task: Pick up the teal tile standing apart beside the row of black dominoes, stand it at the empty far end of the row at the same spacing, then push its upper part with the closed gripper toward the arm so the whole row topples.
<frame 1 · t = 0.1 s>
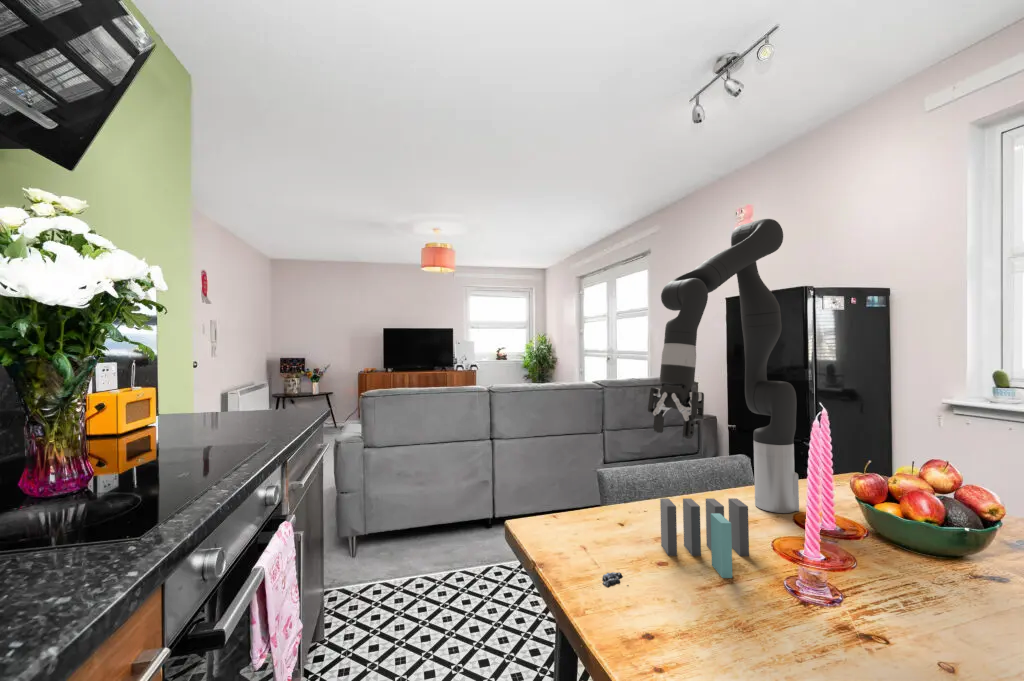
hand: (672, 435, 105), 22 cm above the table, tool pointing down, fingers open, 8 cm apart
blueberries: (613, 584, 84), on the table
domino 2: (668, 550, 96), on the table
domino 4: (715, 550, 96), on the table
domino 5: (739, 550, 96), on the table
end domino: (721, 571, 87), on the table
domino 3: (692, 550, 96), on the table
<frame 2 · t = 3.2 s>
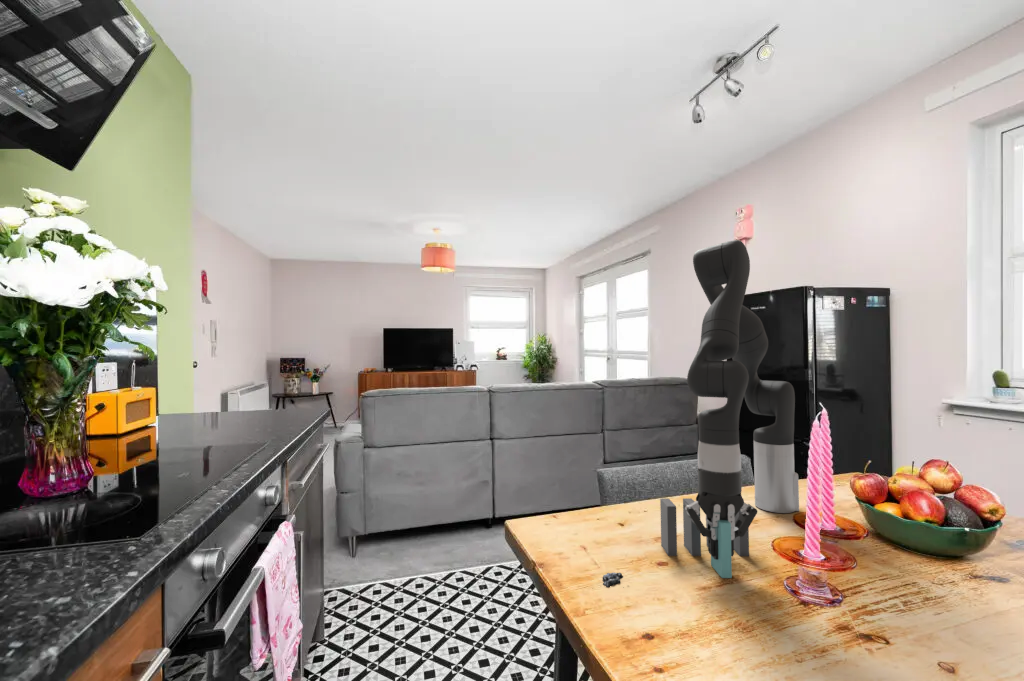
hand: (720, 557, 87), 3 cm above the table, tool pointing down, fingers closed on end domino
end domino: (721, 571, 87), on the table, touching gripper
everything else where it was.
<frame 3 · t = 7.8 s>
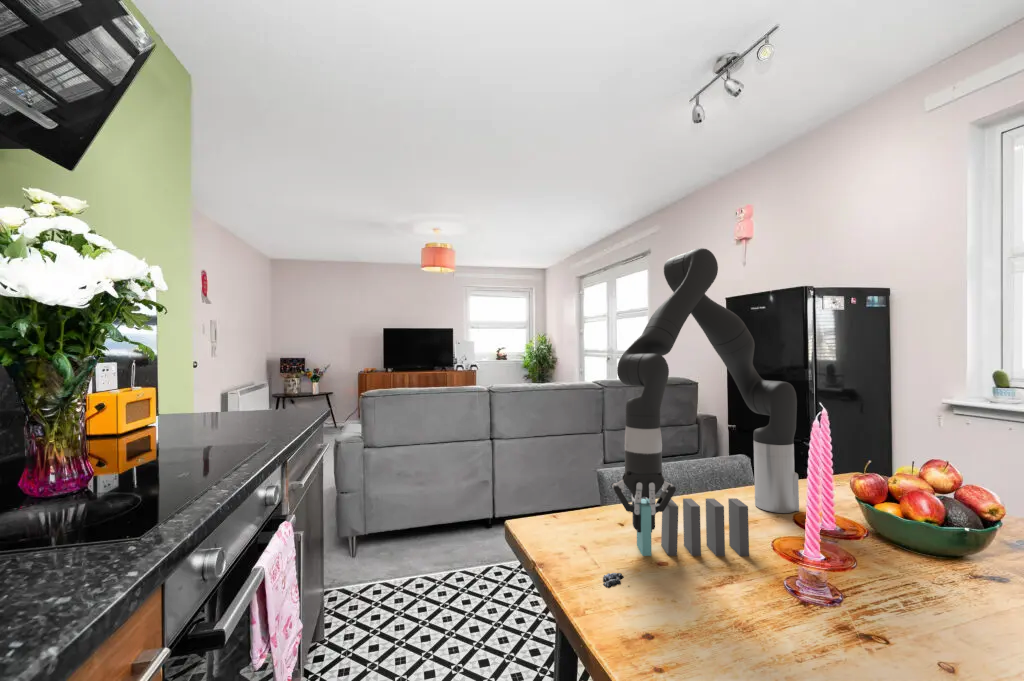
hand: (643, 530, 96), 4 cm above the table, tool pointing down, fingers closed on end domino
domino 2: (668, 550, 96), on the table, touching hand
end domino: (643, 550, 96), on the table, touching gripper
everything else where it was.
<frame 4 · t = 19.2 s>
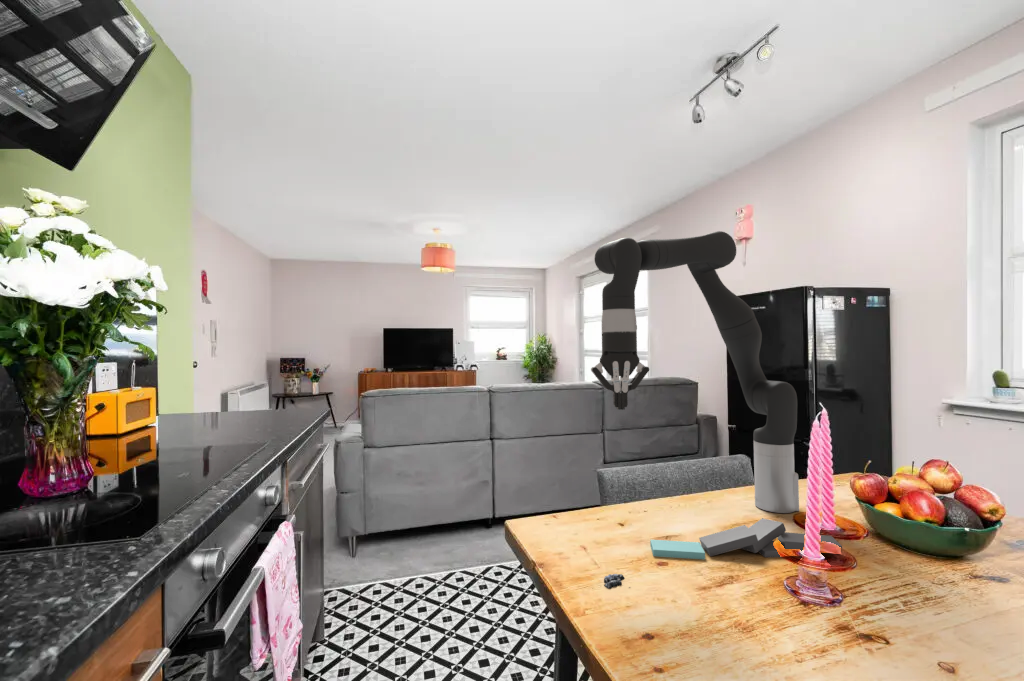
hand: (620, 409, 101), 29 cm above the table, tool pointing down, fingers closed
domino 2: (704, 546, 96), point 1 cm above the table, tilted 74°
domino 4: (781, 540, 96), point 2 cm above the table, tilted 90°, touching domino 3, domino 5
domino 5: (758, 550, 95), on the table, tilted 90°, touching domino 4
end domino: (651, 548, 96), on the table, tilted 90°
domino 3: (743, 545, 95), point 1 cm above the table, tilted 74°, touching domino 4
everything else where it was.
at the end: domino 5 tilted 90°; end domino inside the target area (0.3 cm from its centre), on the table; end domino tilted 90° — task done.
